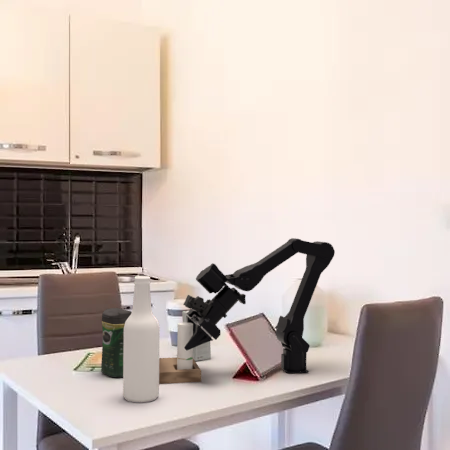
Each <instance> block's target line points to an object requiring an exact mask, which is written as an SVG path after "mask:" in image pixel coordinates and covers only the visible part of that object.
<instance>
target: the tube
mask: <svg viewBox="0 0 450 450" xmlns="http://www.w3.org/2000/svg"><path fill="white" fill-rule="evenodd" d="M192 336H193V323H186V322H185V323H183V322H178V323H177V338H176V339H177V342H176V343H177V344H176V345H177V347H176V348H177V350H176V351H177V354H176V357H177V370H183V369H193V348H192V349H190V350H186V349H185V348H184V347H185V346H186V344H187V343H188V341H189V340H190V338H191V337H192Z"/></svg>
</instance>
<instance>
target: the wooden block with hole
mask: <svg viewBox="0 0 450 450" xmlns="http://www.w3.org/2000/svg"><path fill="white" fill-rule="evenodd" d="M201 382H202V370H201V368H200V366H199V365H198V363H197V362H196V361H195V360H194V359H193V369H183V370H177V356H176V357H159V385H160V384H161V385H163V384H165V385H167V384H180V383H181V384H183V383H184V384H185V383H201Z"/></svg>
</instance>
